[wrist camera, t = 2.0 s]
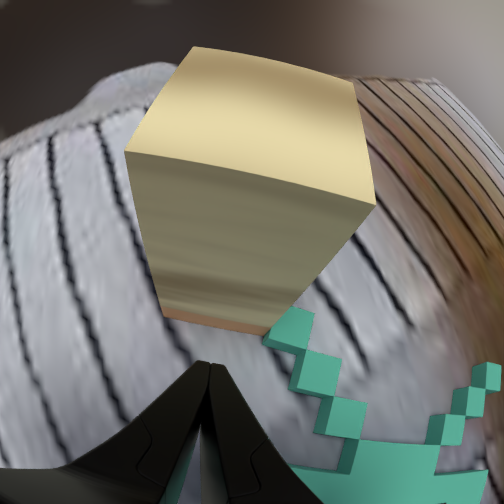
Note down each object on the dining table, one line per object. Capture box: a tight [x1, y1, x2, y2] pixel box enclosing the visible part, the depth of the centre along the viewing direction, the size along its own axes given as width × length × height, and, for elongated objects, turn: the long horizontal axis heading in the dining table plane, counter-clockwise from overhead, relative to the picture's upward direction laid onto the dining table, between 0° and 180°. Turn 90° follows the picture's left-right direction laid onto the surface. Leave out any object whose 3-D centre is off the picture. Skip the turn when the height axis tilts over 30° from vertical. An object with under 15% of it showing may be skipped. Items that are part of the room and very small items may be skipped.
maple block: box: [124, 47, 376, 336], centre depth 14 cm, size 6×6×13 cm
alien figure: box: [262, 306, 501, 504], centre depth 14 cm, size 20×2×20 cm
